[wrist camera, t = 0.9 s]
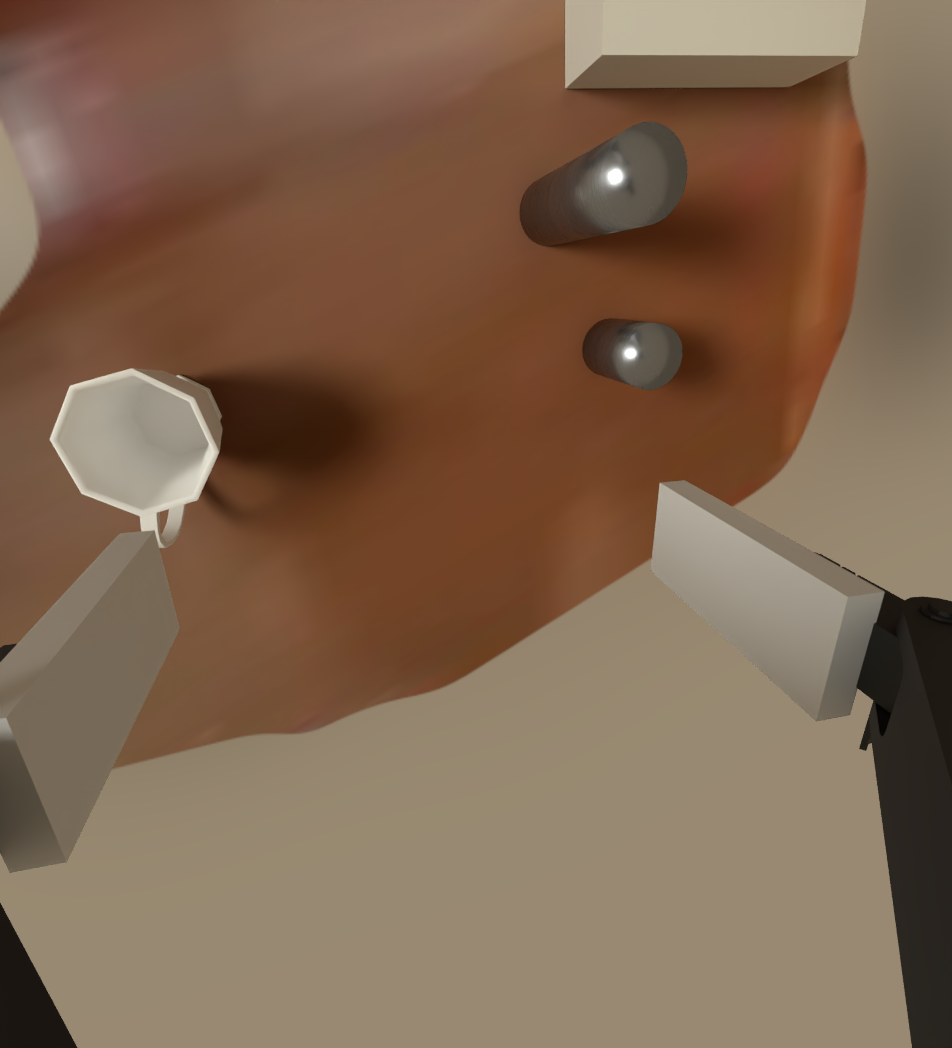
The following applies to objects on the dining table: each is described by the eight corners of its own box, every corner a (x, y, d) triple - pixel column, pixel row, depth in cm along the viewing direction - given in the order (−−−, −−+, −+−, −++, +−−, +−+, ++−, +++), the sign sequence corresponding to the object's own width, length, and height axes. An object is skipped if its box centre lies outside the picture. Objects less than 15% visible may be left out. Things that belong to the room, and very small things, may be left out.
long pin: (518, 178, 33) (605, 122, 22) (578, 176, 33) (690, 121, 23) (520, 247, 34) (602, 228, 23) (577, 244, 35) (683, 223, 24)
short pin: (582, 320, 37) (624, 325, 31) (635, 316, 37) (685, 320, 32) (582, 378, 38) (622, 392, 33) (632, 373, 39) (680, 386, 33)
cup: (245, 358, 33) (217, 377, 26) (245, 518, 37) (221, 575, 29) (109, 342, 32) (38, 358, 24) (123, 512, 35) (65, 571, 28)
